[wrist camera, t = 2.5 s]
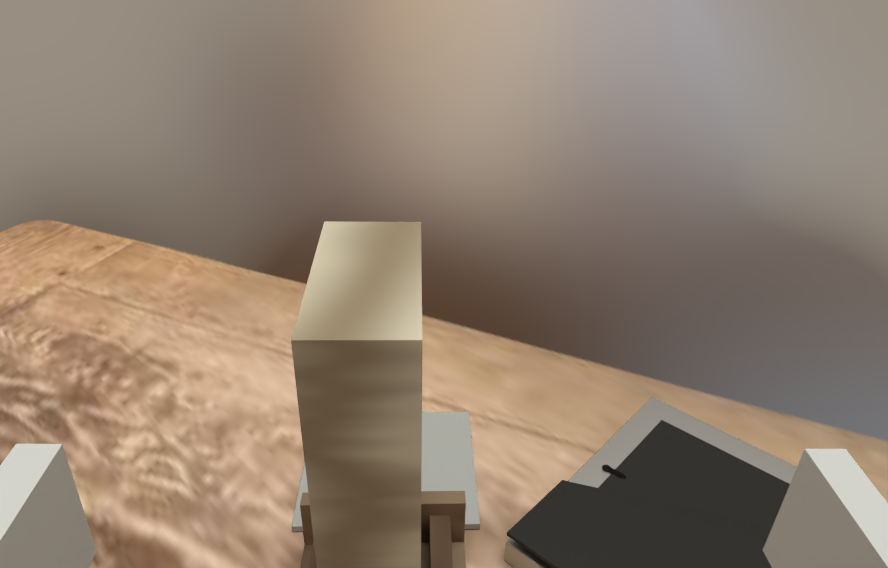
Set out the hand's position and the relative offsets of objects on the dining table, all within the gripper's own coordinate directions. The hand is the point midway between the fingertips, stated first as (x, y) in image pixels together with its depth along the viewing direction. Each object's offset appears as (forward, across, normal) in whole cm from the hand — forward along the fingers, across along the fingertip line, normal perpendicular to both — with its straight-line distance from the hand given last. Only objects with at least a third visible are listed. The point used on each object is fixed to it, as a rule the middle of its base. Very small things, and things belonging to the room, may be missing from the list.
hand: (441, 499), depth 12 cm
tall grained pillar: (+10, -2, -19) cm, 21 cm away
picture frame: (+12, +18, -21) cm, 30 cm away
